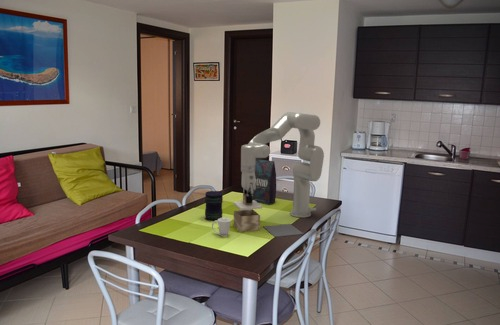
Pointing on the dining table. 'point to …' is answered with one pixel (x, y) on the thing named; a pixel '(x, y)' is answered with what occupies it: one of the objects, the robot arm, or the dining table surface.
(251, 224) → the crate
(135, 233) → the dining table surface
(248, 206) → the lid
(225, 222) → the cup
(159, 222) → the dining table surface
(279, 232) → the mat
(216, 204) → the storage jar
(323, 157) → the robot arm
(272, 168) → the coffee bag
